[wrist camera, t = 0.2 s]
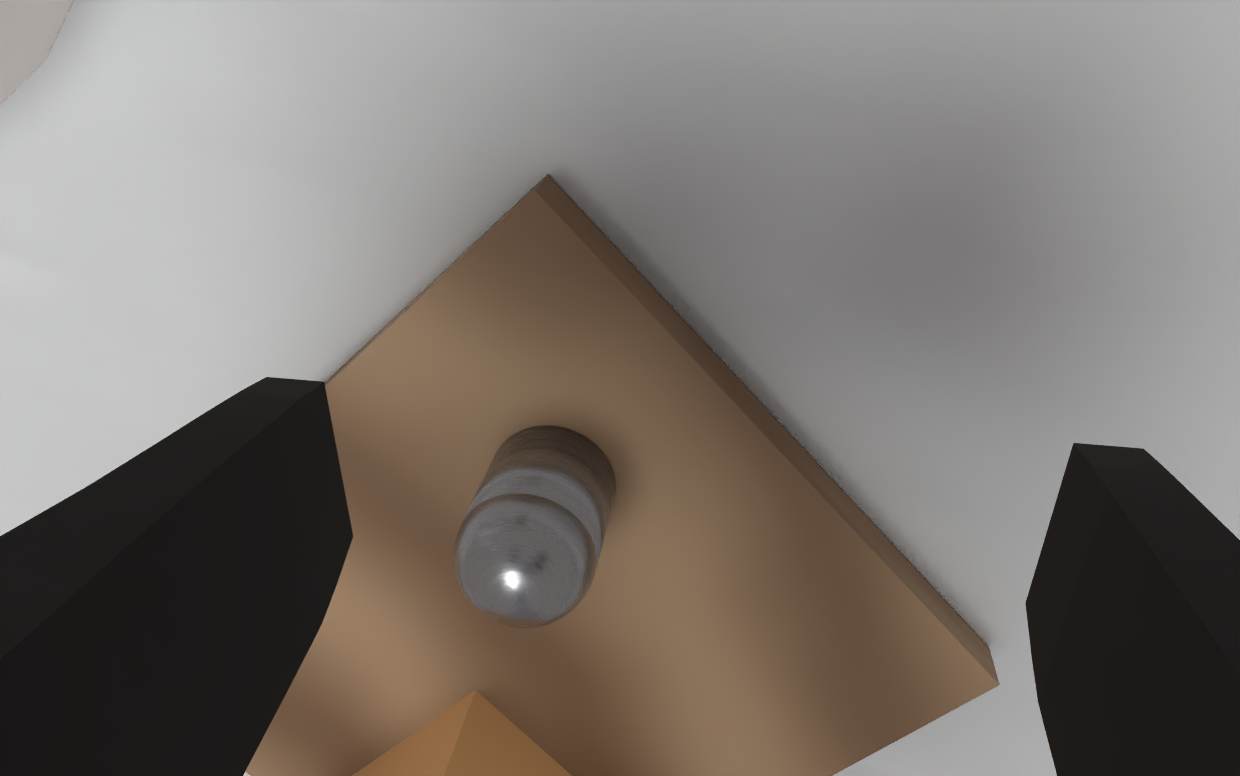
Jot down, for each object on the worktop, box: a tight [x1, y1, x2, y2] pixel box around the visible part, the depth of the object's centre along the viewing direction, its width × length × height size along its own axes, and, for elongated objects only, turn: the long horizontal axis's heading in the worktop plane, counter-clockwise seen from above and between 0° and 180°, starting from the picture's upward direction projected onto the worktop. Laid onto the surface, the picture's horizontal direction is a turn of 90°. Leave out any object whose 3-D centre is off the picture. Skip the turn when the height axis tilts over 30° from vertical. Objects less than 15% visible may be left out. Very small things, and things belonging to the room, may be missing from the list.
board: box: [246, 175, 999, 776], centre depth 24 cm, size 16×14×1 cm
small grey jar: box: [453, 425, 616, 629], centre depth 20 cm, size 3×3×4 cm
